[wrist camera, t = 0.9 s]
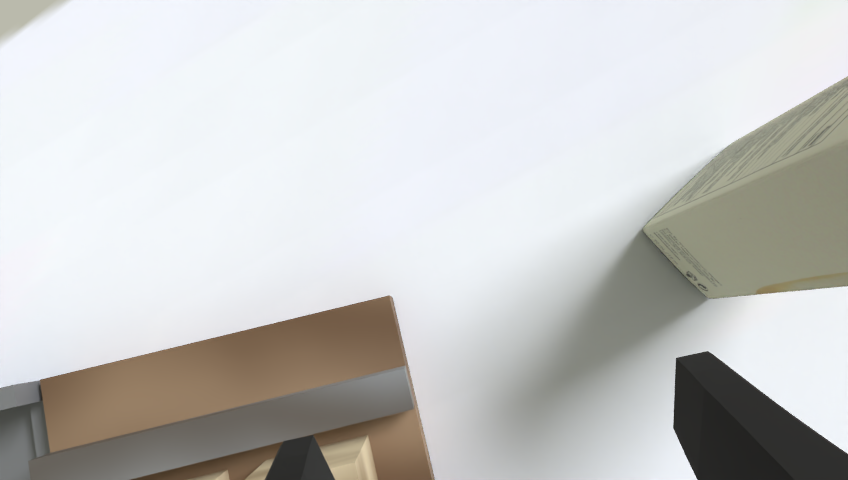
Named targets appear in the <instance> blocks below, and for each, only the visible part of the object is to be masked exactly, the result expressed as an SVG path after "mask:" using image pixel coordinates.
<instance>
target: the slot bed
mask: <svg viewBox="0 0 848 480" xmlns="http://www.w3.org/2000/svg"><path fill="white" fill-rule="evenodd" d="M40 384H41V391H42V398H43V405H44V412H45V419H46V426H47V433H48V440H49V447H50V453H48V454H45V455H43V456H40V457H37V458H35V459H32V460H29V461H28V464H29V471H30V479H31V480H188V479H192V478H196V477H200V476H204V475H208V474H212V473H216V472H220V471H224V470H228V474H229V480H245V479H246V478H247V477H248V476H249V475H250V474H251V473H253V472H254V471H255V470H256V469H257V468H258V467H259V466H260V465H261V464H262V463H263V462H265V461H266V460H268V459H272V458H275V456H276V454H277V452H278V450H279V448H280V446H281V444H282V443H283V441H287V440H291V439H296V438H301V437H305V436H310V435H314V437H315V439H316V441H317V443H318V445H319V447H321V446H325V445H329V444H333V443H337V442H341V441H345V440H349V439H353V438H357V437H361V436H365V435H368V437H369V441H370V446H371V450H372V455H373V459H374V464H375V469H376V473H377V478H378V480H435V479H434V475H433V470H432V466H431V462H430V457H429V453H428V449H427V444H426V440H425V436H424V432H423V427H422V423H421V419H420V414H419V410H418V406H417V401H416V397H415V393H414V388H413V384H412V380H411V376H410V371H409V367H408V363H407V358H406V354H405V350H404V345H403V341H402V337H401V332H400V328H399V324H398V319H397V315H396V311H395V307H394V302H393V298H392V297H391V296H385V297H381V298H377V299H373V300H369V301H365V302H360V303H356V304H352V305H348V306H344V307H340V308H336V309H332V310H327V311H323V312H319V313H315V314H311V315H307V316H303V317H298V318H294V319H290V320H286V321H282V322H278V323H274V324H269V325H265V326H261V327H257V328H253V329H249V330H245V331H240V332H236V333H232V334H228V335H224V336H220V337H216V338H211V339H207V340H203V341H199V342H195V343H191V344H187V345H182V346H178V347H174V348H170V349H166V350H162V351H158V352H153V353H149V354H145V355H141V356H137V357H133V358H129V359H125V360H120V361H116V362H112V363H108V364H104V365H100V366H96V367H91V368H87V369H83V370H79V371H75V372H71V373H67V374H62V375H58V376H54V377H50V378H46V379H42V380H40Z"/></svg>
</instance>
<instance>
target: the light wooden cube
mask: <svg viewBox="0 0 848 480" xmlns="http://www.w3.org/2000/svg"><path fill="white" fill-rule="evenodd" d="M320 449H321V452H322V454H323V456H324V458H325V460H326V462H327V464H328V466H329V468H330V470H331V472H332V474H333V476H334V478H335V480H378V478H377V473H376V469H375V464H374V459H373V455H372V450H371V446H370V441H369V437H368V435H365V436H361V437H357V438H353V439H349V440H345V441H341V442H337V443H333V444H329V445H325V446H321V447H320ZM273 461H274V458H272V459H268V460H266V461H265V462H263V463H262V464H261V465H260V466H259V467H258V468H257V469H256V470H255V471H254V472H253V473H251V474H250V475H249V476H248V477H247V478H246V479H245V480H265V478H266V476H267V474H268V472H269V469H270V467H271V465H272V463H273Z"/></svg>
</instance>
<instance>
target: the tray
mask: <svg viewBox="0 0 848 480" xmlns="http://www.w3.org/2000/svg"><path fill="white" fill-rule="evenodd" d="M48 453H50V447H49V440H48V433H47V426H46V419H45V412H44V405H43V398H42V391H41V384H40V381H34V382H28V383H22V384H16V385H11V386H7V387H3V388H0V480H31V479H30V471H29V464H28V461H29V460H32V459H35V458H37V457H40V456H43V455H45V454H48Z"/></svg>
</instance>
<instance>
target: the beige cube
mask: <svg viewBox="0 0 848 480" xmlns="http://www.w3.org/2000/svg"><path fill="white" fill-rule="evenodd" d="M188 480H229V474H228V470H224V471H220V472H216V473H212V474H208V475H204V476H200V477H196V478H192V479H188Z"/></svg>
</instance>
